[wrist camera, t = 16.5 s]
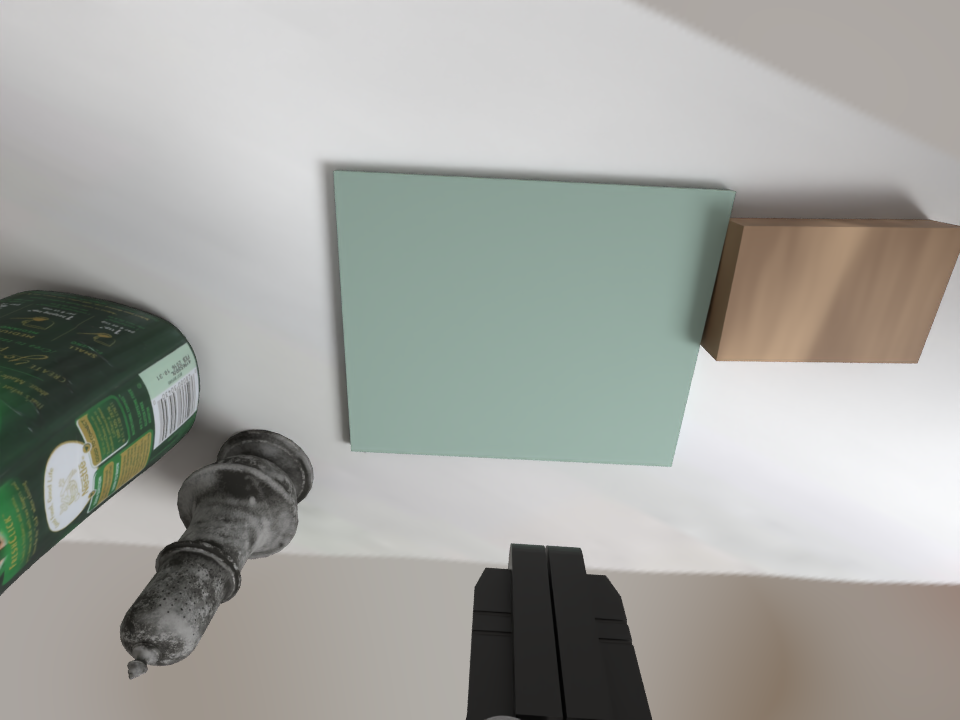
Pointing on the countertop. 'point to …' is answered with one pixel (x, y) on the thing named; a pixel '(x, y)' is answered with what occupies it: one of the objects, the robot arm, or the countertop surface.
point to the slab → (828, 289)
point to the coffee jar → (81, 412)
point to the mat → (523, 314)
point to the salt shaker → (217, 543)
